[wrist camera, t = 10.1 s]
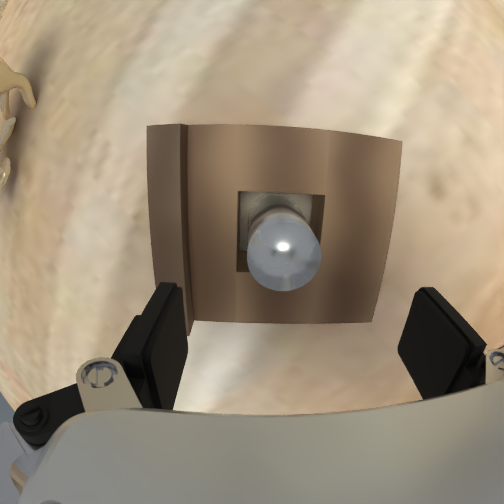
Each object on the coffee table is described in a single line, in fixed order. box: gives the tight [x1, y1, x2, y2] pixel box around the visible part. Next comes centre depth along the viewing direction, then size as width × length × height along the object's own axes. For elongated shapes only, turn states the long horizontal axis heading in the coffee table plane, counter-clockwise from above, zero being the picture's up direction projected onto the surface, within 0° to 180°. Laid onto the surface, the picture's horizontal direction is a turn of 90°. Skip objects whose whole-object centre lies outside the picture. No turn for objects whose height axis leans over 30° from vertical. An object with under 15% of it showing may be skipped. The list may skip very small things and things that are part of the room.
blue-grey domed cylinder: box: [247, 193, 321, 291], centre depth 20 cm, size 4×4×8 cm
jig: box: [147, 124, 402, 336], centre depth 21 cm, size 16×14×6 cm
